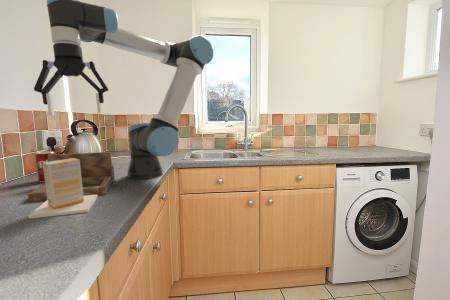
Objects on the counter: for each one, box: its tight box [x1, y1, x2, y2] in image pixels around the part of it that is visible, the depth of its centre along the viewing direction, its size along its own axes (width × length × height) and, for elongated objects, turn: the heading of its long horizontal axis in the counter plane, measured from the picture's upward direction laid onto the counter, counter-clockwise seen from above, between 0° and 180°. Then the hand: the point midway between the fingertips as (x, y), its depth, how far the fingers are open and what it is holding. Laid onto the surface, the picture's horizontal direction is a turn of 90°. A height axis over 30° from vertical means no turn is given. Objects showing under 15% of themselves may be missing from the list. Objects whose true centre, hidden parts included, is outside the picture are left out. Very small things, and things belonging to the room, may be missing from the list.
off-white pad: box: [28, 194, 99, 219], centre depth 74 cm, size 14×14×1 cm
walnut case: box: [27, 151, 116, 202], centre depth 90 cm, size 23×20×12 cm
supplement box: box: [43, 158, 84, 209], centre depth 73 cm, size 8×5×13 cm, turn 141°
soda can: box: [34, 150, 57, 184], centre depth 104 cm, size 7×7×12 cm
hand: (76, 114), depth 80 cm, fingers open, 13 cm apart
